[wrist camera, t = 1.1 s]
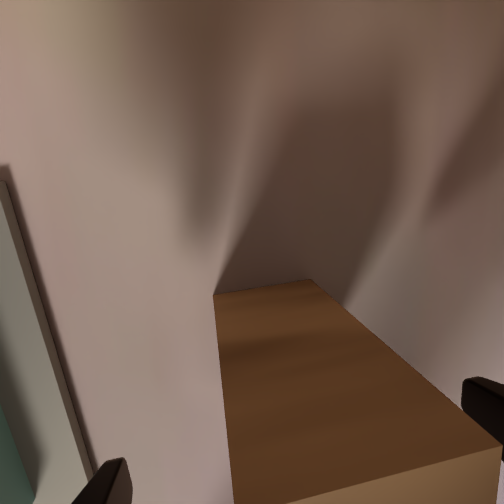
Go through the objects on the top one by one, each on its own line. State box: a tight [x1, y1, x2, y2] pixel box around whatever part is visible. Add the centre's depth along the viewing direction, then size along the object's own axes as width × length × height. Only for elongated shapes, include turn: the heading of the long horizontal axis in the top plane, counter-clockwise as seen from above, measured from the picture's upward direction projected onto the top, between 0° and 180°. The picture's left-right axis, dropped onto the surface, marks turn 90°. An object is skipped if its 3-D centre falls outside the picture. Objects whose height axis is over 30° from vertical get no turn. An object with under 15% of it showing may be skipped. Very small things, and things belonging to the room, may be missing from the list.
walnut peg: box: [213, 279, 503, 504], centre depth 8 cm, size 4×4×8 cm
